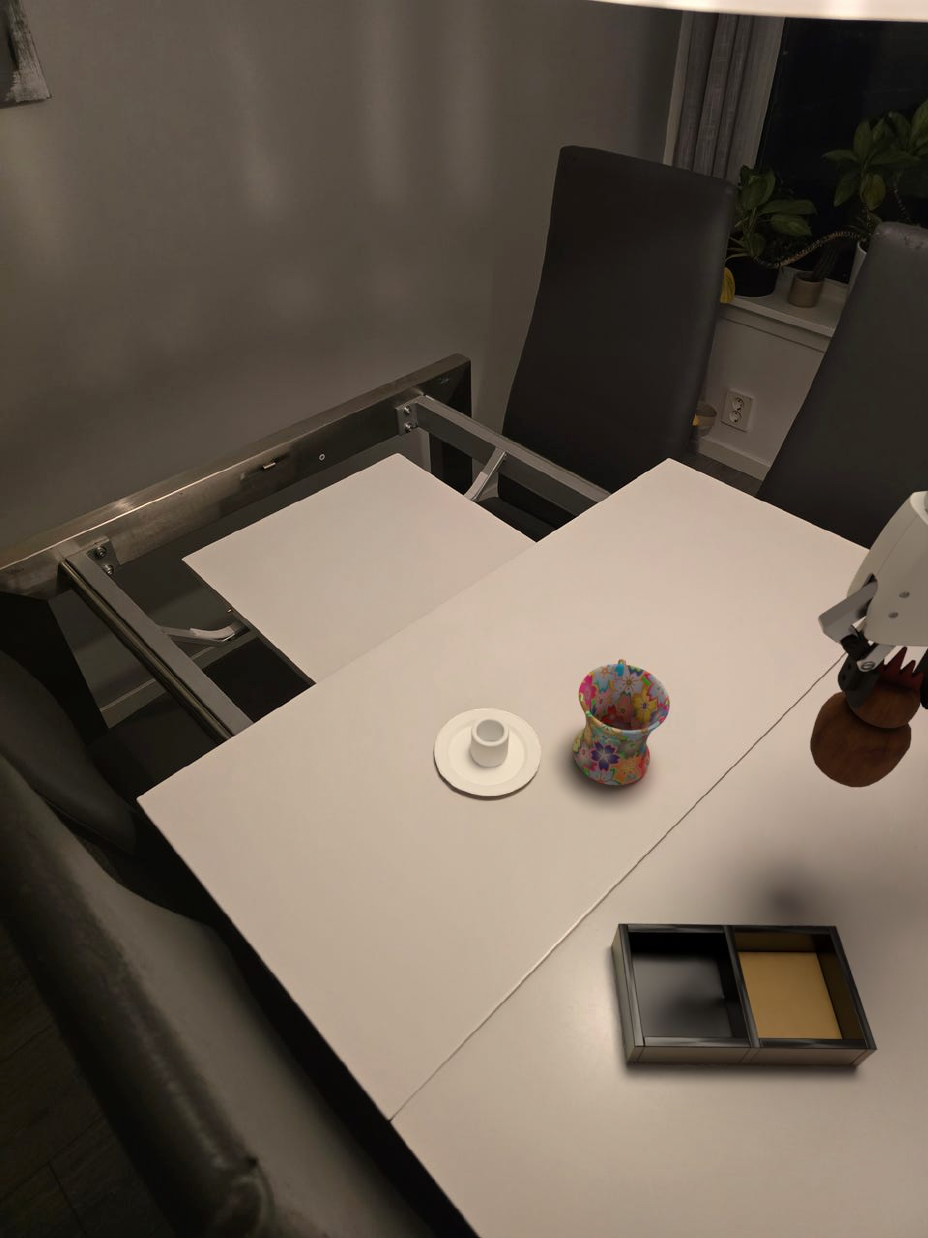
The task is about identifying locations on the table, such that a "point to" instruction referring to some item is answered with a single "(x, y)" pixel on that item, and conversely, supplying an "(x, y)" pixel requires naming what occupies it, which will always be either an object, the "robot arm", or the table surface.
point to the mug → (618, 722)
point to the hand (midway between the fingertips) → (885, 692)
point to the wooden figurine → (868, 727)
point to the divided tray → (738, 996)
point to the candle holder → (487, 752)
